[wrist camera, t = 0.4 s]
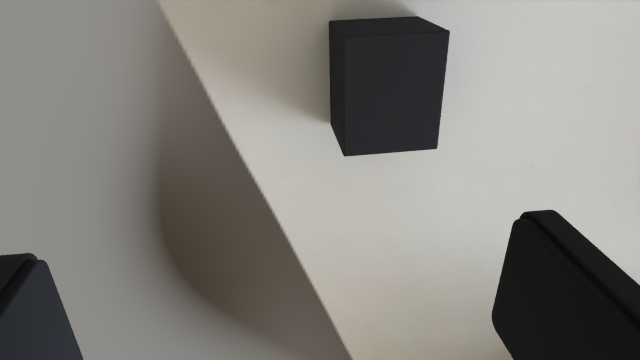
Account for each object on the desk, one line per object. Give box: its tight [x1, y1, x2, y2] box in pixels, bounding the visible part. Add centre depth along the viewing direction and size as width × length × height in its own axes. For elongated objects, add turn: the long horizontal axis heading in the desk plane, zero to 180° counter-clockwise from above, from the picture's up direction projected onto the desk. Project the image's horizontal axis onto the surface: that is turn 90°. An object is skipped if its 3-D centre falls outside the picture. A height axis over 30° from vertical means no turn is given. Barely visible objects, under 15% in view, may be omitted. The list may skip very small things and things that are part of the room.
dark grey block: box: [329, 16, 450, 156], centre depth 24 cm, size 6×5×4 cm
